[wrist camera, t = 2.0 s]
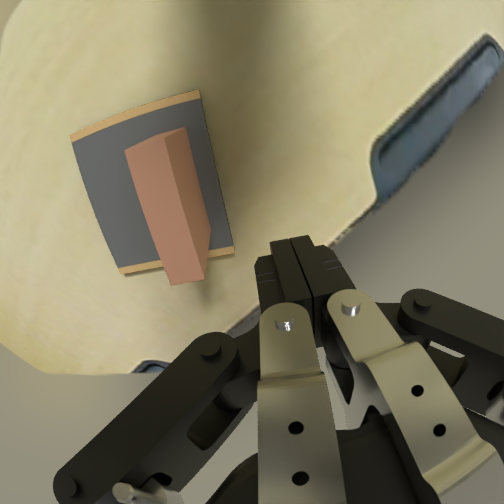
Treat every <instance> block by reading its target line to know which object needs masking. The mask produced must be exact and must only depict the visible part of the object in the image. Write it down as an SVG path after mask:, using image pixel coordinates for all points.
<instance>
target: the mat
mask: <svg viewBox="0 0 504 504" xmlns="http://www.w3.org/2000/svg"><path fill="white" fill-rule="evenodd" d="M183 127H186V130H187V135H188V139H189V143H190V148H191V152H192V156H193V160H194V165H195V169H196V173H197V177H198V181H199V185H200V189H201V193H202V197H203V201H204V205H205V209H206V212H207V216H208V220H209V224H210V228H211V234H210V241H209V249H208V258H211V257H216V256H221V255H227V254H232V253H235V250H234V245H233V241H232V237H231V233H230V228H229V224H228V220H227V215H226V211H225V207H224V202H223V198H222V193H221V189H220V185H219V180H218V176H217V171H216V167H215V162H214V157H213V153H212V148H211V144H210V139H209V134H208V130H207V125H206V120H205V116H204V111H203V106H202V101H201V97H200V92H199V90H194V91H190V92H186V93H182V94H179V95H175V96H171V97H168V98H164V99H161V100H158V101H155V102H151V103H148V104H145V105H142V106H139V107H136V108H134V109H131V110H128V111H125V112H123V113H120V114H117V115H115V116H112V117H110V118H107V119H105V120H102V121H100V122H98V123H95V124H93V125H91V126H89V127H86V128H84V129H82V130H80V131H78V132H76V133H73V134H71V135H70V139H71V143H72V146H73V149H74V153H75V156H76V160H77V163H78V166H79V170H80V173H81V176H82V179H83V182H84V185H85V188H86V191H87V194H88V197H89V199H90V202H91V205H92V207H93V210H94V213H95V215H96V218H97V221H98V223H99V226H100V228H101V230H102V233H103V235H104V238H105V240H106V242H107V245H108V247H109V249H110V252H111V254H112V256H113V258H114V260H115V263H116V265H117V267H118V269H119V272H120V274H125V273H131V272H136V271H141V270H147V269H152V268H157V267H163V264H162V262H161V259H160V257H159V254H158V252H157V249H156V246H155V244H154V241H153V238H152V235H151V233H150V230H149V227H148V224H147V221H146V219H145V216H144V213H143V210H142V207H141V204H140V201H139V198H138V195H137V192H136V188H135V185H134V182H133V179H132V175H131V172H130V169H129V165H128V162H127V158H126V155H125V151H124V150H126V149H128V148H130V147H132V146H134V145H136V144H138V143H140V142H142V141H145V140H147V139H149V138H151V137H153V136H155V135H158V134H161V133H165V132H168V131H172V130H176V129H179V128H183Z"/></svg>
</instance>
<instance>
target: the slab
mask: <svg viewBox="0 0 504 504" xmlns="http://www.w3.org/2000/svg"><path fill="white" fill-rule="evenodd" d="M124 151H125V155H126V158H127V162H128V165H129V169H130V172H131V175H132V179H133V182H134V185H135V188H136V192H137V195H138V198H139V201H140V204H141V207H142V210H143V213H144V216H145V219H146V221H147V224H148V227H149V230H150V233H151V235H152V238H153V241H154V244H155V246H156V249H157V252H158V254H159V257H160V259H161V262H162V264H163V267H164V269H165V272H166V274H167V277H168V279H169V282H170V284H171V285H176V284H182V283H187V282H193V281H199V280H205V275H206V266H207V258H208V249H209V241H210V234H211V228H210V224H209V220H208V216H207V212H206V209H205V205H204V201H203V197H202V193H201V189H200V185H199V181H198V177H197V173H196V169H195V165H194V160H193V156H192V152H191V148H190V143H189V139H188V135H187V130H186V127H183V128H179V129H176V130H172V131H168V132H165V133H161V134H158V135H155V136H153V137H151V138H149V139H147V140H145V141H142V142H140V143H138V144H136V145H134V146H132V147H130V148H128V149H126V150H124Z"/></svg>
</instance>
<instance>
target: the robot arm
mask: <svg viewBox="0 0 504 504" xmlns="http://www.w3.org/2000/svg"><path fill="white" fill-rule="evenodd" d="M270 249H271V255H267V256H262V257H258V259H257V261H256V263H255V265H254V268H255V274H256V281H257V288H258V295H259V301H260V308H261V317H260V320H259V322H258V324H257V325H256V326H255V327H254V328H253V329H252V330H250V331H249V332H247V333H245V334H243V335H241V336H238V337H236V338H234V339H233V338H232V337H231V336H229V335H228V334H225V333H221V332H211V333H206V334H204V335H201V336H199V337H198V338H196V339H195V340H194V341H193V342H192V343H191V344H190V345H189V346H188V347H187V348H186V349H185V350H184V351H183V352H182V353H181V354H180V355H179V356H178V357H177V358H176V359H175V360H174V361H173V362H172V363H171V364H170V365H169V366H168V367H167V368H166V369H165V370H164V371H163V372H162V373H161V374H160V375H159V376H158V377H157V378H156V379H155V380H153V382H151V383H150V384H149V385H148V386H147V387H146V388H145V389H144V390H143V391H142V392H141V393H140V394H139V395H138V396H137V397H136V398H135V399H134V400H133V401H132V402H131V403H130V404H129V405H128V406H127V407H126V408H125V409H124V410H123V411H122V412H121V413H120V414H118V415H117V416H116V418H114V419H113V420H112V421H111V422H110V423H109V424H108V425H107V426H106V427H105V428H104V429H103V430H102V431H101V432H100V433H99V434H97V435H96V436H95V437H94V438H93V439H92V440H91V441H90V442H89V443H88V444H87V445H86V446H85V447H84V448H82V449H81V450H80V451H79V452H78V453H77V454H76V455H75V456H74V457H73V458H72V459H71V460H70V461H68V462H67V463H66V464H65V465H64V466H63V467H62V468H61V469H60V470H59V471H58V472H57V474H56V475H55V477H54V481H53V490H54V494H55V497H56V499H57V501H58V502H59V504H184V502H183V499H182V497H181V495H180V494H179V492H180V491H181V490H182V489H183V488H184V487H185V486H186V485H187V483H188V482H189V481H190V480H191V479H192V478H193V477H194V476H195V475H196V474H197V473H198V472H199V470H200V469H201V468H202V467H203V466H204V465H205V464H206V463H207V461H208V460H209V459H210V458H211V457H212V456H213V455H214V453H215V452H216V451H217V450H218V449H219V448H220V446H221V445H222V444H223V443H224V442H225V440H226V439H227V438H228V437H229V435H230V434H231V433H232V432H233V431H234V429H235V428H236V427H237V426H238V424H239V423H240V422H241V420H242V419H243V418H244V416H245V415H246V414H247V413H248V411H249V410H250V409H251V407H252V406H253V403H254V402H256V401H257V408H258V411H257V414H258V453H256V454H254V455H252V456H251V457H249V458H247V459H246V460H244V461H243V462H242V463H241V464H239V465H238V466H237V467H236V468H235V469H234V470H233V471H232V472H231V473H230V474H229V476H228V477H227V478H226V479H225V480H224V482H223V483H222V484H221V485H220V487H219V488H218V489H217V490H216V492H215V493H214V494H213V495H212V496H211V498H210V499H209V500H208V501H207V502H206V503H205V504H504V320H502V319H499V318H497V317H494V316H492V315H489V314H487V313H484V312H482V311H480V310H477V309H475V308H472V307H470V306H467V305H465V304H462V303H460V302H457V301H454V300H452V299H449V298H447V297H444V296H442V295H439V294H437V293H434V292H431V291H429V290H425V289H413V290H410V291H408V292H406V293H405V294H404V295H403V296H402V298H401V302H400V303H377V302H374V301H373V299H372V298H371V297H370V296H369V295H368V294H367V293H365V292H363V291H360V290H357V289H356V288H355V286H354V284H353V283H352V281H351V279H350V278H349V276H348V274H347V273H346V271H345V269H344V268H343V267H342V264H341V263H340V261H339V260H338V258H337V256H336V255H335V253H334V252H333V250H331V249H329V248H328V247H326V246H325V245H320V246H314V244H313V243H312V241H311V239H310V237H309V236H308V235H304V236H299V237H294V238H289V239H283V240H278V241H272V242H270ZM431 341H433V342H435V343H438V344H440V345H442V346H445V347H447V348H449V349H451V350H454V351H456V352H459V353H461V354H463V355H465V356H464V357H462V358H458V357H454V356H452V355H450V354H448V353H446V352H443V351H441V350H439V349H436V348H434V347H432V346H430V342H431ZM318 347H324V350H325V353H326V367H327V369H328V372H329V374H330V376H331V379H332V381H333V383H334V386H335V388H336V391H337V393H338V395H339V398H340V400H341V403H342V405H343V407H344V411H345V417H346V424H347V428H348V430H336V429H335V424H334V418H333V413H332V408H331V402H330V397H329V392H328V387H327V382H326V378H325V374H324V372H321V369H320V364H319V359H318V354H317V350H316V348H318ZM463 406H464V407H463ZM465 407H466V408H465ZM467 408H468V409H467ZM469 409H470V410H469ZM471 410H473V411H475V412H477V413H480V414H483V415H485V416H486V417H484V416H482V415H479V414H477V413H475V412H473V411H471Z"/></svg>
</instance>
